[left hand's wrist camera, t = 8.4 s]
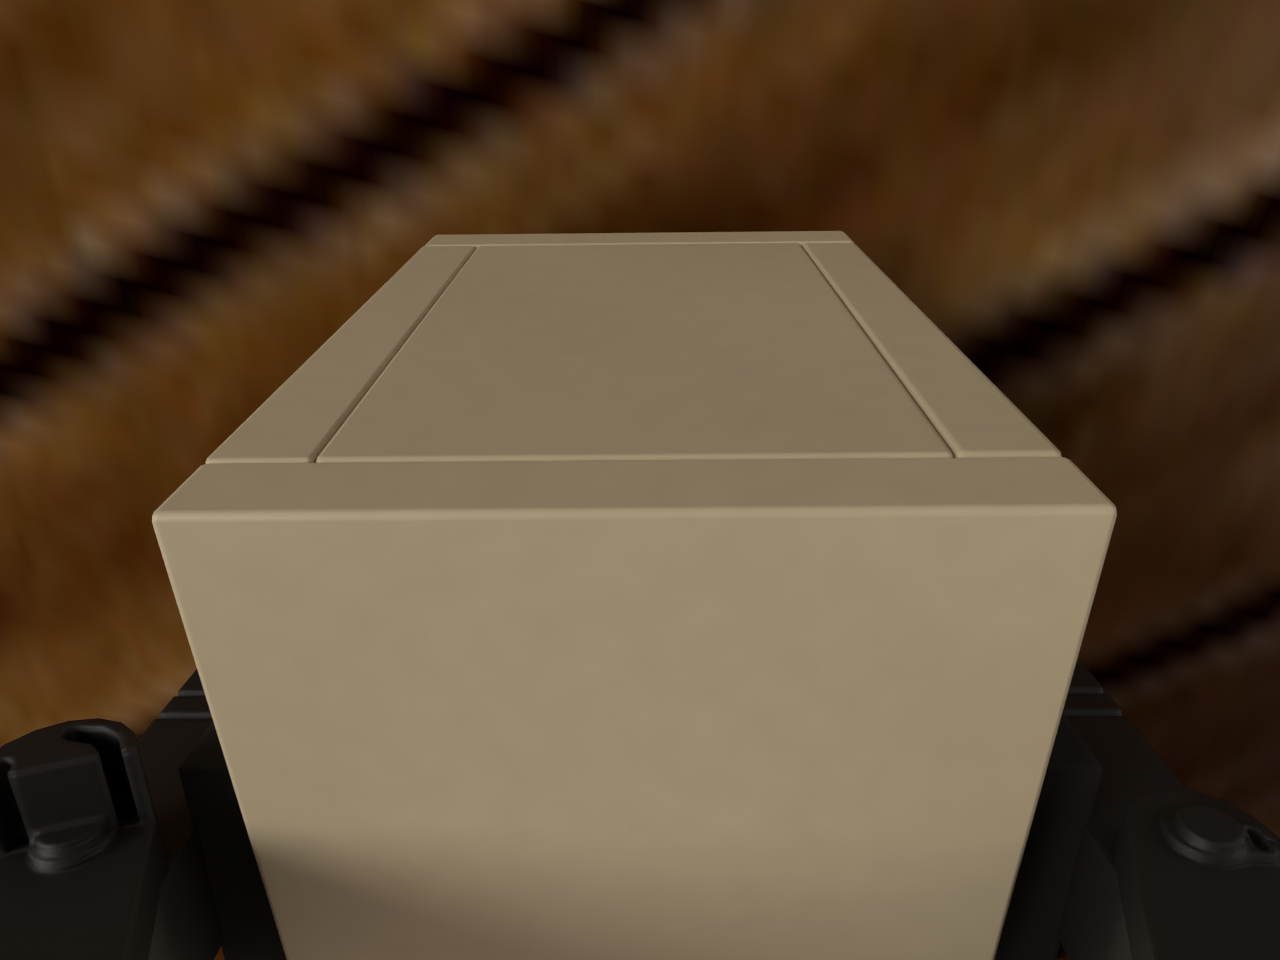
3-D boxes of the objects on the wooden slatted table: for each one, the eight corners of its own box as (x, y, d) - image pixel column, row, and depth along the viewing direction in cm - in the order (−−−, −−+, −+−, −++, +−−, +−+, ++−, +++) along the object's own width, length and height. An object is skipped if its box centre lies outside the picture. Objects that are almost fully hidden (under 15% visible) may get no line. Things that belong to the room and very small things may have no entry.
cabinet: (768, 1024, 24) (834, 1544, 16) (526, 1024, 24) (464, 1544, 16) (844, 230, 14) (1124, 507, 6) (434, 234, 14) (144, 514, 6)
